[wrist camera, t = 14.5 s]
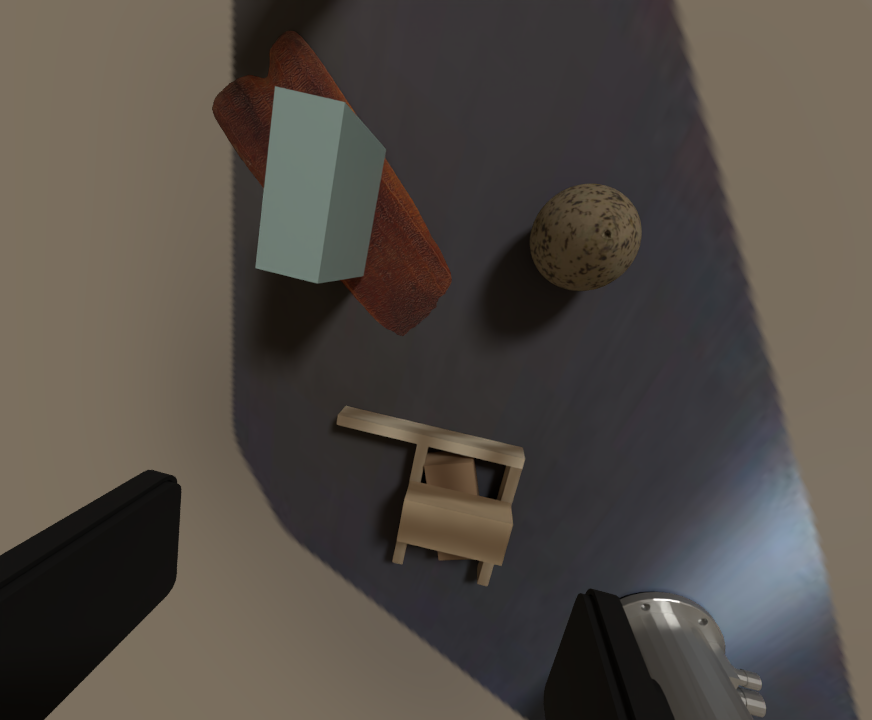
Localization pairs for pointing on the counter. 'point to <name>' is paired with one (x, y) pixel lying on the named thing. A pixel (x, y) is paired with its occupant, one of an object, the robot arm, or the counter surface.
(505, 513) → the offcut upper
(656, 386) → the counter surface
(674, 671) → the robot arm
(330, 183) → the tall board
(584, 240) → the decorative egg
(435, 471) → the offcut lower
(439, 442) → the rack
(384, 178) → the wooden tablet
